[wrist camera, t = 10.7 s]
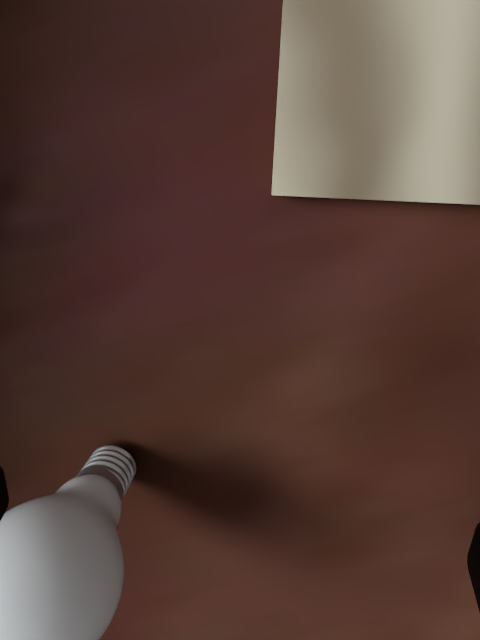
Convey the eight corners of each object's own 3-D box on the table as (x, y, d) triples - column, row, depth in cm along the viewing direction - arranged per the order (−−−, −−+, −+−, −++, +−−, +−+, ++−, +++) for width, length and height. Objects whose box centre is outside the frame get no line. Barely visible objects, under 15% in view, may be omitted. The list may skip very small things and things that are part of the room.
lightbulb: (142, 396, 23) (16, 585, 12) (189, 488, 24) (113, 720, 14) (46, 426, 24) (-137, 617, 14) (97, 510, 26) (-32, 736, 16)
